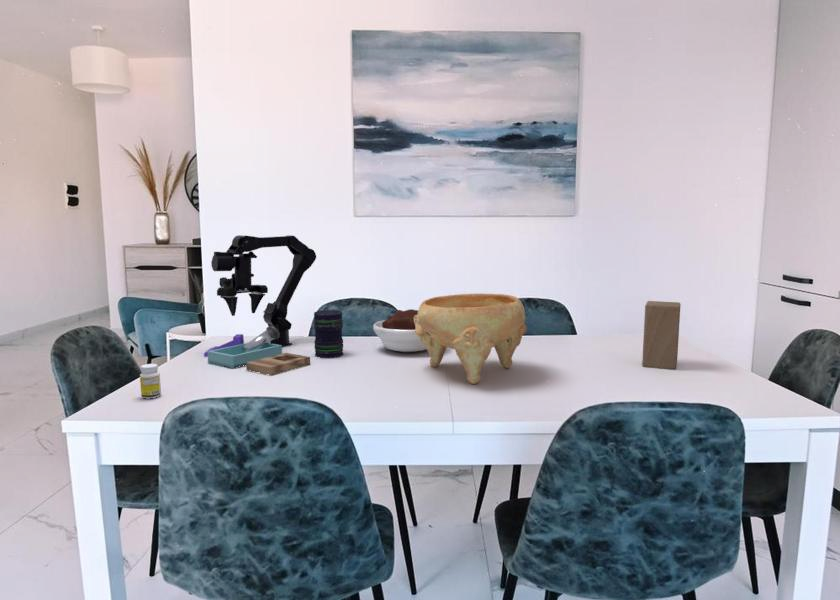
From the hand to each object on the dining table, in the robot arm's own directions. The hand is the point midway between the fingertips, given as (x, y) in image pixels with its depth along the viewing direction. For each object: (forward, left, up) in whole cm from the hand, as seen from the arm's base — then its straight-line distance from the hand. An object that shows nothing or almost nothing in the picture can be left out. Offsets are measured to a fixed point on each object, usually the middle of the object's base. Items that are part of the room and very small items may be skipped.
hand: (243, 314), depth 205 cm
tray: (+10, +13, -13) cm, 21 cm away
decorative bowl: (-19, +82, -13) cm, 85 cm away
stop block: (+10, +30, -13) cm, 34 cm away
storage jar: (-11, +31, -13) cm, 35 cm away
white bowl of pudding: (-33, +49, -13) cm, 60 cm away
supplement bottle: (+51, +26, -13) cm, 58 cm away
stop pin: (+9, +13, -10) cm, 19 cm away
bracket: (+8, -1, -14) cm, 16 cm away
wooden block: (-60, +129, -13) cm, 143 cm away
